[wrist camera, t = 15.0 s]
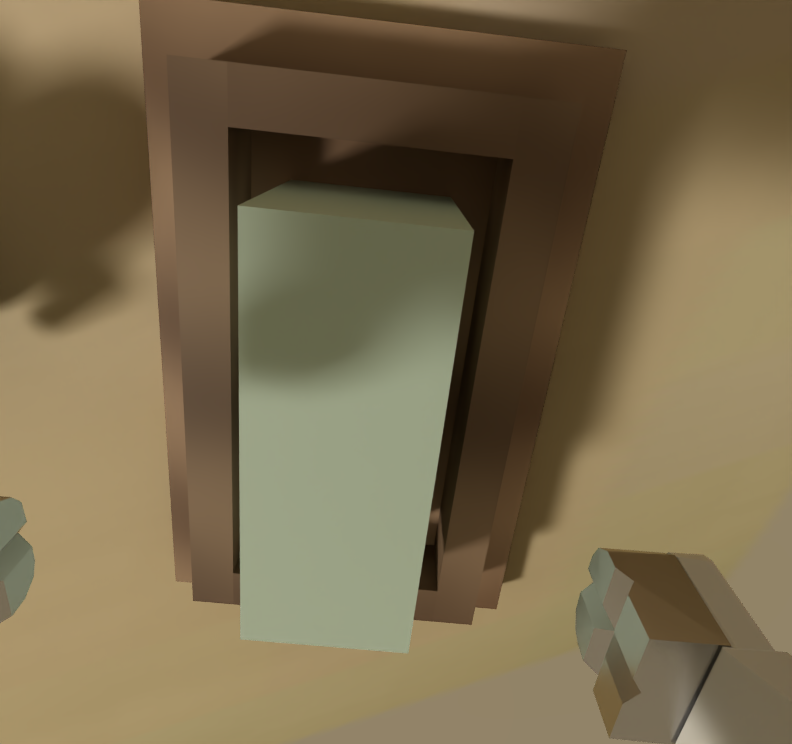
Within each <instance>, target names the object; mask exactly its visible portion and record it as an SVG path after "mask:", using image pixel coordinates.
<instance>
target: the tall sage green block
mask: <svg viewBox="0 0 792 744" xmlns="http://www.w3.org/2000/svg"><path fill="white" fill-rule="evenodd" d="M473 235H474V230H473V229H472V227H471V226H470V224H469V223H468V221H467V220H466V218H465V217H464V215H463V214H462V213H461V211H460V210H459V208H458V207H457V205H456V204H455V202H454V201H453V200H452V198H451V197H444V196H435V195H426V194H417V193H408V192H398V191H389V190H380V189H371V188H362V187H353V186H344V185H335V184H326V183H316V182H307V181H298V180H290V181H287V182H285V183H283V184H281V185H279V186H277V187H275V188H273V189H271V190H269V191H267V192H265V193H263V194H260V195H258V196H256V197H254V198H252V199H250V200H248V201H246V202H244V203H242V204H240V205H238V339H239V490H240V639H242V640H254V641H266V642H278V643H290V644H302V645H314V646H326V647H338V648H350V649H362V650H374V651H386V652H398V653H408V651H409V645H410V639H411V632H412V626H413V619H414V613H415V607H416V600H417V594H418V587H419V581H420V575H421V568H422V562H423V555H424V549H425V543H426V536H427V530H428V523H429V517H430V511H431V504H432V498H433V491H434V485H435V479H436V472H437V466H438V459H439V453H440V447H441V440H442V434H443V427H444V421H445V415H446V408H447V402H448V395H449V389H450V383H451V376H452V370H453V363H454V357H455V351H456V344H457V338H458V331H459V325H460V319H461V312H462V306H463V299H464V293H465V287H466V280H467V274H468V267H469V261H470V255H471V248H472V242H473Z"/></svg>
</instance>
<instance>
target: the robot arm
mask: <svg viewBox="0 0 792 744" xmlns="http://www.w3.org/2000/svg"><path fill="white" fill-rule="evenodd" d="M26 522H27V521H26V517H25V514H24V510H23V506H22V503H21V502H20V501H18V500H16V499H14V498H11V497H3V496H0V623H1V622H2V621H4V620H6V619H8V618H9V617H11V616H12V615H13V614H14V613H15V611H16V610H17V609H18V607H19V606H20V604H21V603H22V602H23V600H24V599H25V597H26V595H27V592H28V590H29V587H30V584H31V582H32V579H33V576H34V563H35V559H34V554H33V549H32V546H31V545H30V544H29V543H28V542H27V541H26V540H25V539H24V538H23V537H22V536H21V535H20V534H19V533H18V532H19V531H20V530H21V528H22V527H23V526H24V524H25V523H26ZM588 569H589V572H590V574H591V577H592V579H593V583H592V584H590V585H589V586H588V587H587V588H585V589H584V590H583V591H581V593H580V597H579V600H578V604H577V608H576V635H577V641H578V646H579V649H580V652H581V655H582V659H583V661H584V662H585V663H586V664H587V665H588V666H589V667H590V668H591V669H592V670H593V671H594V672H595V673H596V674H598V677H597V680H596V683H595V686H594V688H593V692H594V695H595V698H596V701H597V703H598V706H599V710H600V712H601V715H602V718H603V721H604V724H605V727H606V730H607V733H608V736H609V738H613V739H622V740H632V741H642V742H652V743H661V744H792V656H791V655H790V654H789V653H787V652H778V651H775V650H774V649H773V647H772V646H771V644H770V643H769V641H768V640H767V639H766V637H765V636H764V634H763V633H762V631H761V630H760V628H759V627H758V626H757V624H756V623H755V621H754V620H753V619H752V617H751V616H750V614H749V613H748V611H747V610H746V608H745V607H744V606H743V604H742V603H741V601H740V600H739V598H738V597H737V596H736V594H735V593H734V591H733V590H732V588H731V587H730V585H729V584H728V583H727V581H726V580H725V578H724V577H723V575H722V574H721V573H720V571H719V570H718V568H717V567H716V565H715V564H714V563H713V561H712V560H710V559H709V558H707V557H706V556H704V555H700V554H685V553H659V552H647V551H634V550H621V549H608V548H598V549H597V551H596V552H595V553H594V554H593V556H592V559H591V562H590V565H589V568H588Z"/></svg>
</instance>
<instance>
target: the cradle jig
mask: <svg viewBox="0 0 792 744" xmlns="http://www.w3.org/2000/svg"><path fill="white" fill-rule="evenodd" d="M139 9H140V25H141V40H142V56H143V72H144V88H145V103H146V119H147V135H148V150H149V166H150V182H151V198H152V213H153V229H154V245H155V260H156V276H157V292H158V308H159V323H160V339H161V355H162V371H163V386H164V402H165V418H166V433H167V449H168V465H169V481H170V496H171V512H172V528H173V543H174V559H175V575H176V581H180V582H192V588H193V601H202V602H213V603H225V604H237V605H240V490H239V339H238V205H240V204H242V203H244V202H246V201H248V200H250V199H252V198H254V197H256V196H258V195H260V194H263V193H265V192H267V191H269V190H271V189H273V188H275V187H277V186H279V185H281V184H283V183H285V182H287V181H290V180H298V181H307V182H316V183H326V184H335V185H344V186H353V187H362V188H371V189H380V190H389V191H398V192H408V193H417V194H426V195H435V196H444V197H451V198H452V200H453V201H454V202H455V204H456V205H457V207H458V208H459V210H460V211H461V213H462V214H463V215H464V217H465V218H466V220H467V221H468V223H469V224H470V226H471V227H472V229H473V230H474V235H473V242H472V248H471V255H470V261H469V267H468V274H467V280H466V287H465V293H464V299H463V306H462V312H461V319H460V325H459V331H458V338H457V344H456V351H455V357H454V363H453V370H452V376H451V383H450V389H449V395H448V402H447V408H446V415H445V421H444V427H443V434H442V440H441V447H440V453H439V459H438V466H437V472H436V479H435V485H434V491H433V498H432V504H431V511H430V517H429V523H428V530H427V536H426V543H425V549H424V555H423V562H422V568H421V575H420V581H419V587H418V594H417V600H416V607H415V613H414V619H413V620H422V621H434V622H445V623H457V624H469V625H472V620H473V615H474V610H475V607H478V608H490V609H496V608H497V604H498V600H499V595H500V591H501V587H502V582H503V578H504V574H505V570H506V565H507V561H508V557H509V552H510V548H511V544H512V540H513V535H514V531H515V527H516V522H517V518H518V514H519V510H520V505H521V501H522V497H523V492H524V488H525V484H526V480H527V475H528V471H529V467H530V462H531V458H532V454H533V450H534V445H535V441H536V437H537V432H538V428H539V424H540V420H541V415H542V411H543V407H544V402H545V398H546V394H547V390H548V385H549V381H550V377H551V372H552V368H553V364H554V360H555V355H556V351H557V347H558V342H559V338H560V334H561V330H562V325H563V321H564V317H565V312H566V308H567V304H568V300H569V295H570V291H571V287H572V282H573V278H574V274H575V270H576V265H577V261H578V257H579V252H580V248H581V244H582V240H583V235H584V231H585V227H586V222H587V218H588V214H589V210H590V205H591V201H592V197H593V192H594V188H595V184H596V180H597V175H598V171H599V167H600V162H601V158H602V154H603V150H604V145H605V141H606V137H607V132H608V128H609V124H610V120H611V115H612V111H613V107H614V102H615V98H616V94H617V90H618V85H619V81H620V77H621V72H622V68H623V64H624V60H625V55H626V51H627V50H620V49H612V48H604V47H595V46H587V45H579V44H571V43H562V42H554V41H546V40H537V39H529V38H521V37H513V36H504V35H496V34H488V33H479V32H471V31H463V30H454V29H446V28H438V27H430V26H421V25H413V24H405V23H396V22H388V21H380V20H371V19H363V18H355V17H347V16H338V15H330V14H322V13H313V12H305V11H297V10H288V9H280V8H272V7H264V6H255V5H247V4H239V3H230V2H222V1H214V0H139Z"/></svg>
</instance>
